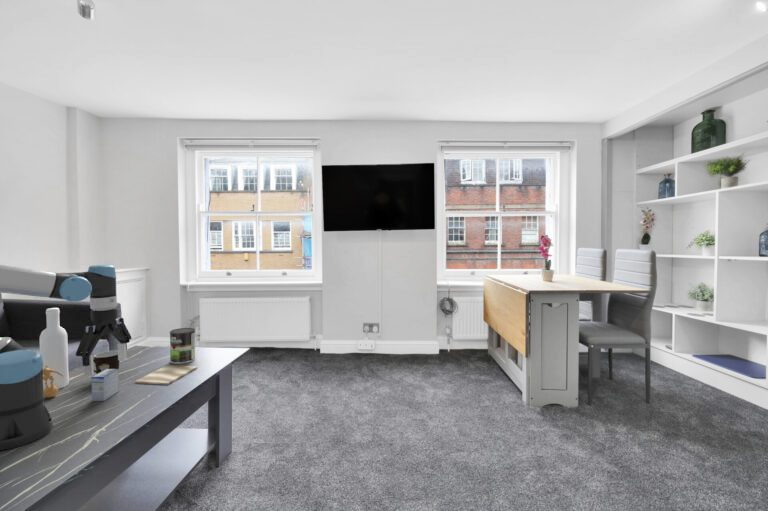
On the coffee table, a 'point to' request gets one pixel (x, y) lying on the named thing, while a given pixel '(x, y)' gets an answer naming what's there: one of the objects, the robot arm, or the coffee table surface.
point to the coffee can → (182, 345)
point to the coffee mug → (106, 361)
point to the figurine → (51, 390)
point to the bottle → (54, 349)
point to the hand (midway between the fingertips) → (106, 367)
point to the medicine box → (105, 384)
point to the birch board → (166, 375)
